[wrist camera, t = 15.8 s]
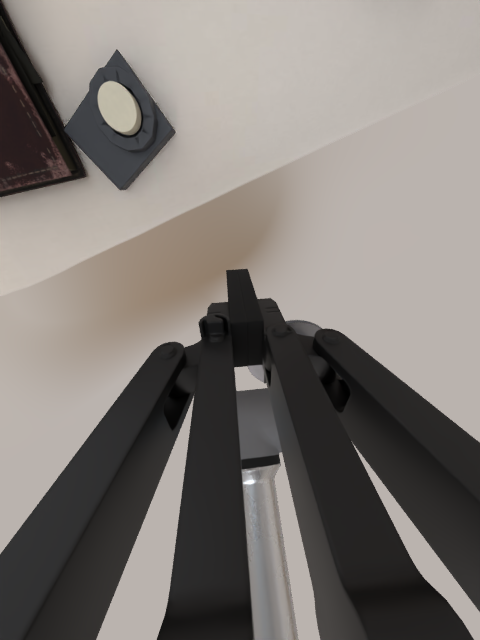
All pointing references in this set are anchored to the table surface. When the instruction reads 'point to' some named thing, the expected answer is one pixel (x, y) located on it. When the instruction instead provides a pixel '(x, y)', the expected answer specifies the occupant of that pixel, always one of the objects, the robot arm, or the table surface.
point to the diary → (29, 124)
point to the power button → (119, 108)
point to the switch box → (107, 143)
